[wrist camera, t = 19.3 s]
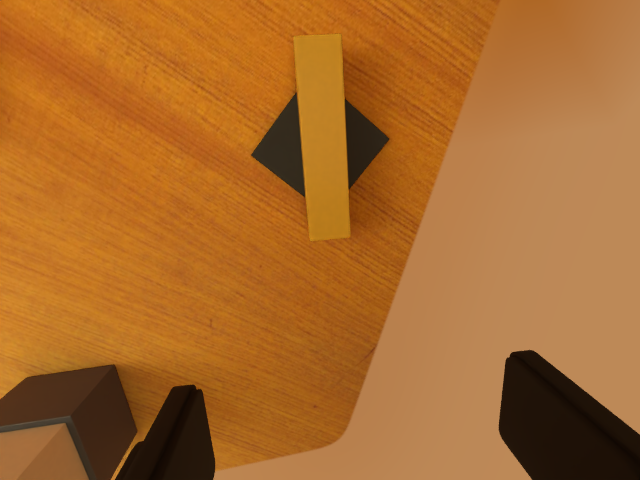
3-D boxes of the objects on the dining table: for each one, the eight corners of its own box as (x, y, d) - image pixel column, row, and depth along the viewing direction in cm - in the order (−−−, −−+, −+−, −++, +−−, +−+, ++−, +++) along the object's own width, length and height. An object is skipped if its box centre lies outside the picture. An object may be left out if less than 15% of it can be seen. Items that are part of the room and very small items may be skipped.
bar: (293, 50, 23) (293, 35, 20) (336, 48, 23) (341, 32, 20) (308, 232, 27) (310, 241, 24) (344, 229, 27) (350, 238, 24)
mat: (388, 139, 26) (389, 138, 25) (327, 214, 27) (328, 215, 27) (312, 70, 24) (312, 69, 24) (251, 155, 25) (250, 155, 25)
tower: (114, 364, 29) (-3, 501, 18) (137, 431, 31) (46, 593, 20) (26, 377, 29) (-154, 525, 17) (56, 444, 31) (-86, 616, 19)
